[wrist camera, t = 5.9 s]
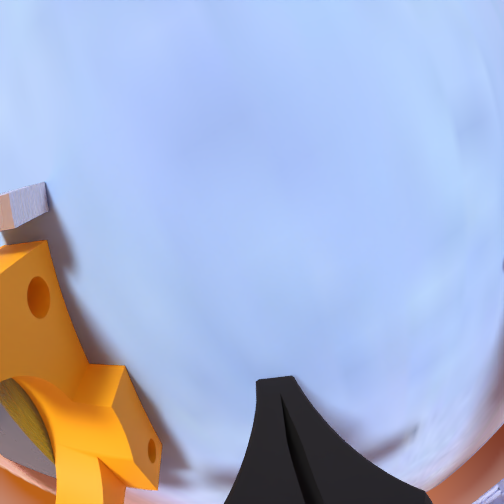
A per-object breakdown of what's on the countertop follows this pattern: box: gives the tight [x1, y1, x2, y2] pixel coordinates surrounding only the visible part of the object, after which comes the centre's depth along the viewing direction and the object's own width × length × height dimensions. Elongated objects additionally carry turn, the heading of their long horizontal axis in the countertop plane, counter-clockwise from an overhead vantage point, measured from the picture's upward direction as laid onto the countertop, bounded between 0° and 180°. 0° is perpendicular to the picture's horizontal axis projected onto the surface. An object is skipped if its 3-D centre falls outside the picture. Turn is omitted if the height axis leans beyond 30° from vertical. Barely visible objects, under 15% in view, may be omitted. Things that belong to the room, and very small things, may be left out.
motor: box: [0, 182, 148, 490], centre depth 8 cm, size 10×17×4 cm, turn 2°
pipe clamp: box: [0, 240, 162, 504], centre depth 7 cm, size 12×4×6 cm, turn 2°
